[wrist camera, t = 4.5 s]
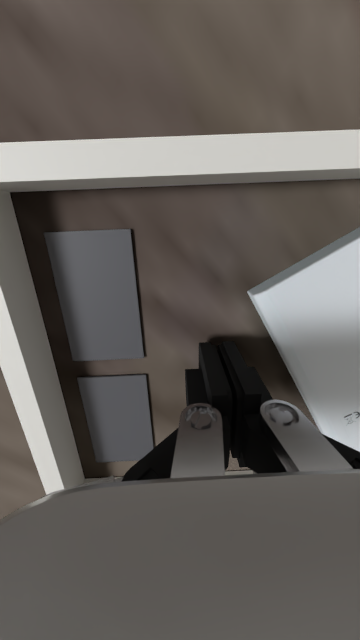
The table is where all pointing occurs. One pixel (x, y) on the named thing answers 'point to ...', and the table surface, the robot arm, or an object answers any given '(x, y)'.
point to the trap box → (115, 274)
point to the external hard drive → (320, 333)
